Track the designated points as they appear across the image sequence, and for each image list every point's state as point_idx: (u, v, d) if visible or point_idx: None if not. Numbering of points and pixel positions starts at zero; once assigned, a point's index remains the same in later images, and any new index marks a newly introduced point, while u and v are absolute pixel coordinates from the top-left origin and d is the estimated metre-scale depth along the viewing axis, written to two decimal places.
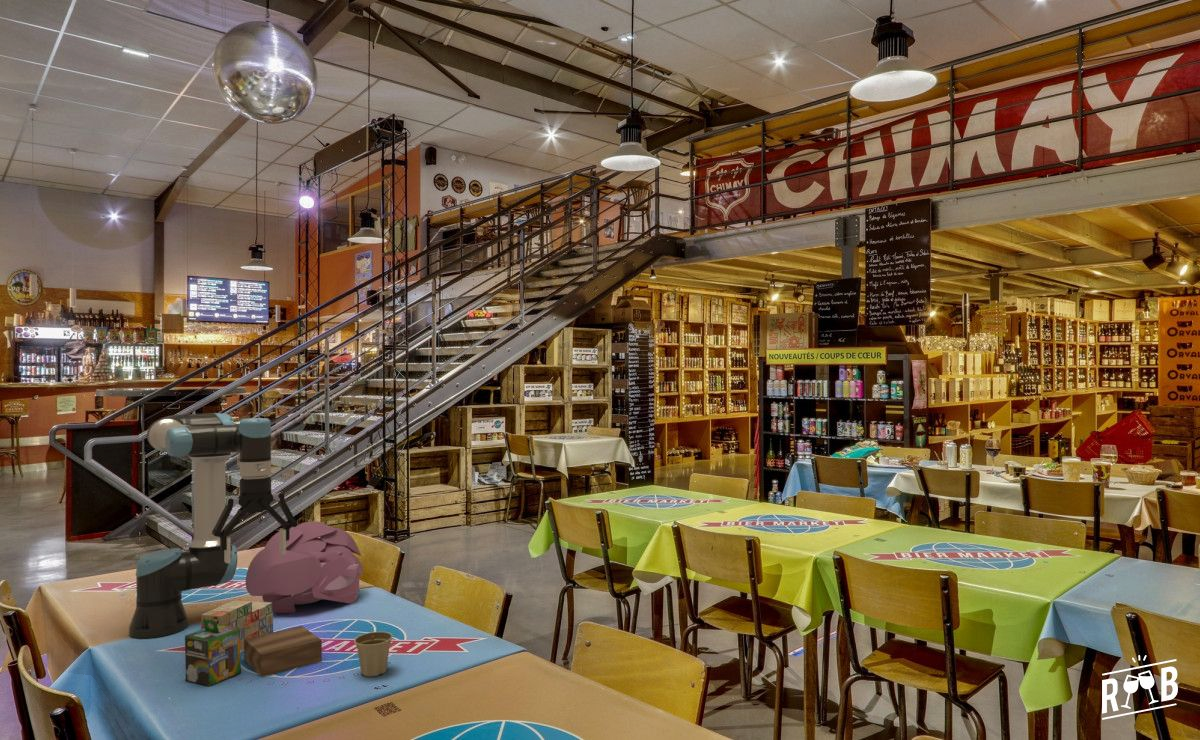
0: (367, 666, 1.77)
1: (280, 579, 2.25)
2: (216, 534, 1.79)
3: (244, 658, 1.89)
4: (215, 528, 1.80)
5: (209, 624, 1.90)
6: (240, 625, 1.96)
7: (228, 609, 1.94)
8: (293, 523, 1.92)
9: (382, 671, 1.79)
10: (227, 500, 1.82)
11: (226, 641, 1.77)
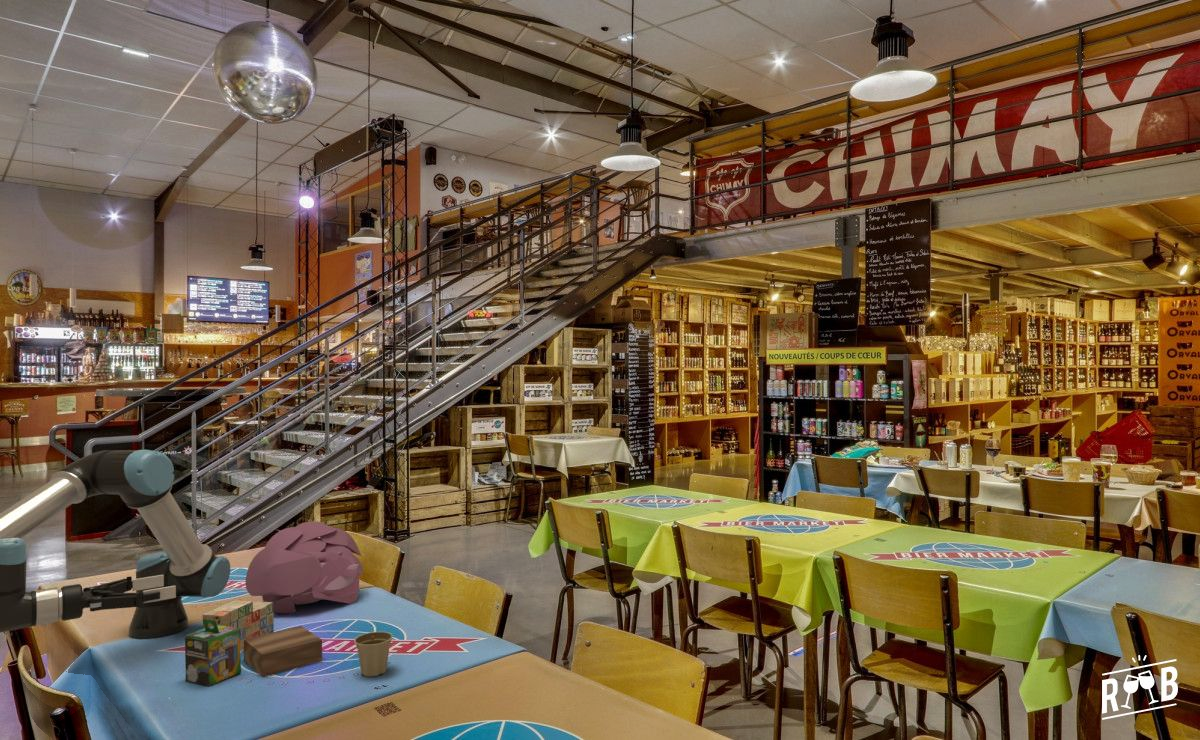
0: (367, 665, 1.77)
1: (280, 579, 2.25)
2: None
3: (244, 658, 1.89)
4: None
5: (210, 624, 1.90)
6: (241, 625, 1.97)
7: (229, 609, 1.94)
8: None
9: (382, 671, 1.79)
10: None
11: (226, 641, 1.77)
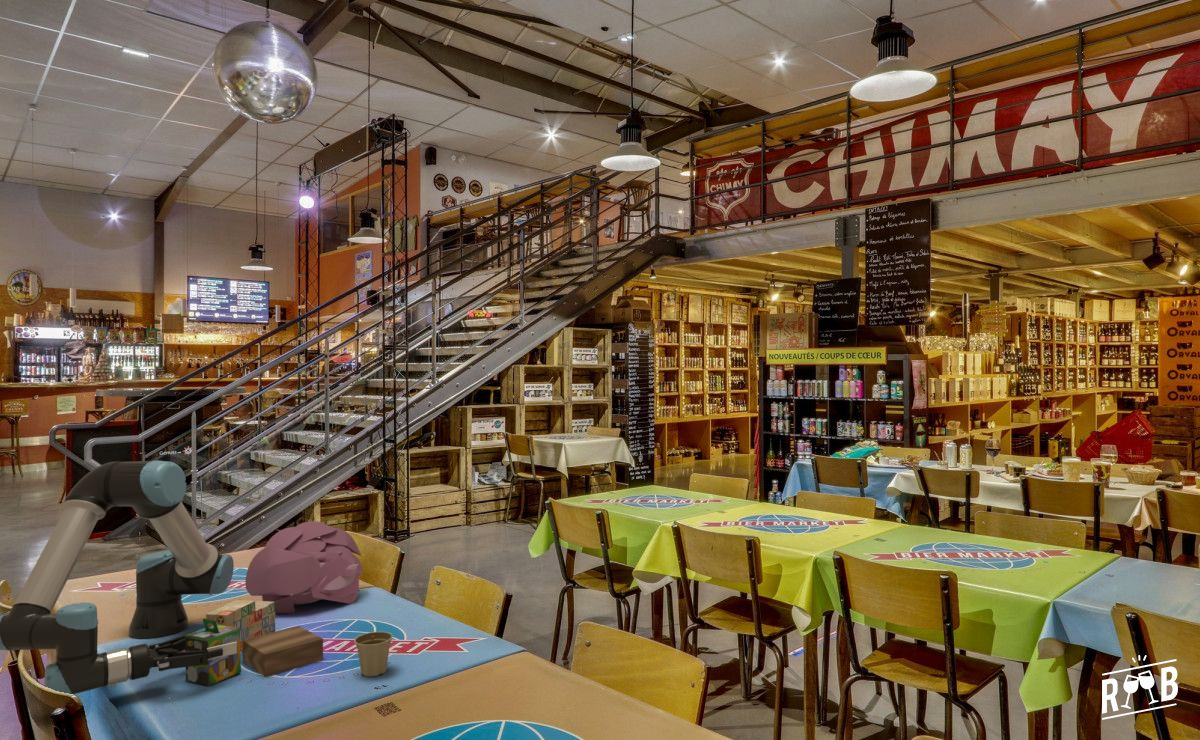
0: (367, 665, 1.77)
1: (279, 579, 2.25)
2: None
3: (242, 659, 1.88)
4: None
5: None
6: (244, 624, 1.97)
7: (232, 608, 1.95)
8: None
9: (382, 671, 1.79)
10: None
11: (226, 641, 1.77)
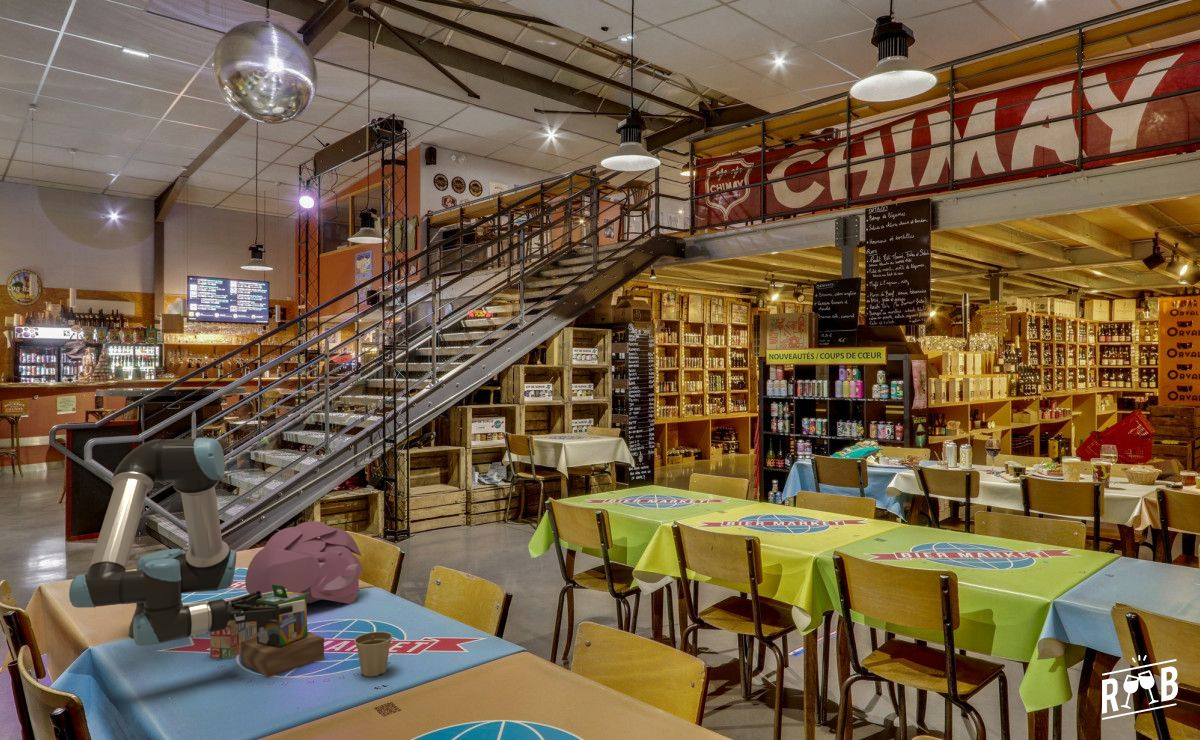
0: (367, 665, 1.77)
1: (279, 579, 2.25)
2: None
3: (241, 661, 1.88)
4: None
5: None
6: (248, 623, 1.98)
7: None
8: None
9: (382, 671, 1.79)
10: None
11: None
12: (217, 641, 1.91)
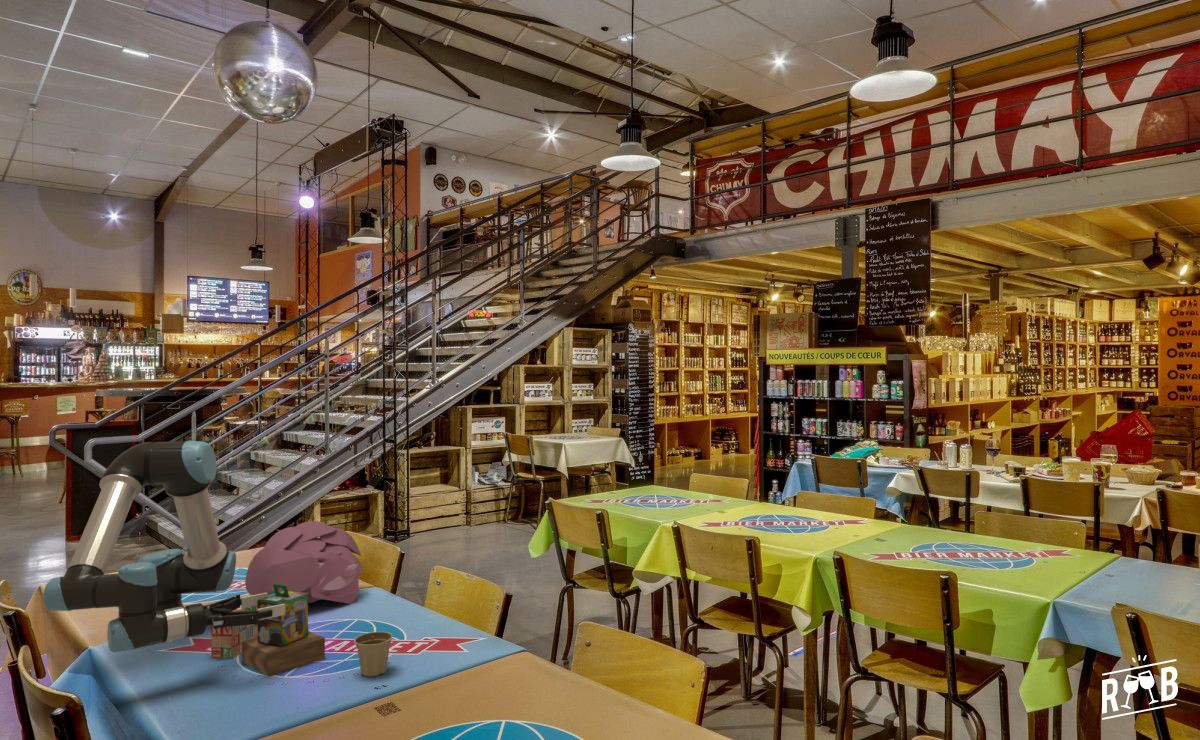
0: (367, 665, 1.77)
1: (279, 579, 2.25)
2: None
3: (242, 660, 1.88)
4: None
5: None
6: None
7: None
8: None
9: (382, 671, 1.79)
10: None
11: (296, 605, 1.88)
12: (218, 641, 1.91)
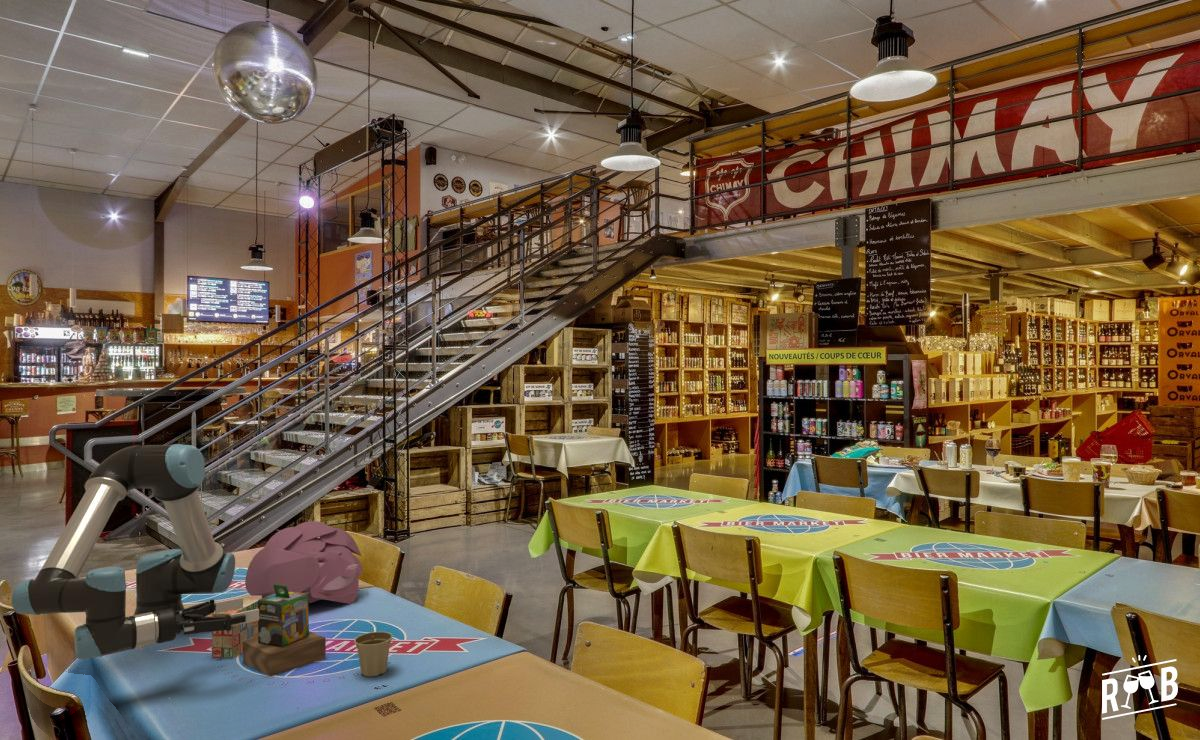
0: (367, 665, 1.77)
1: (279, 579, 2.25)
2: None
3: (243, 660, 1.88)
4: None
5: None
6: (249, 623, 1.98)
7: None
8: None
9: (382, 671, 1.79)
10: None
11: (296, 605, 1.88)
12: (219, 641, 1.91)
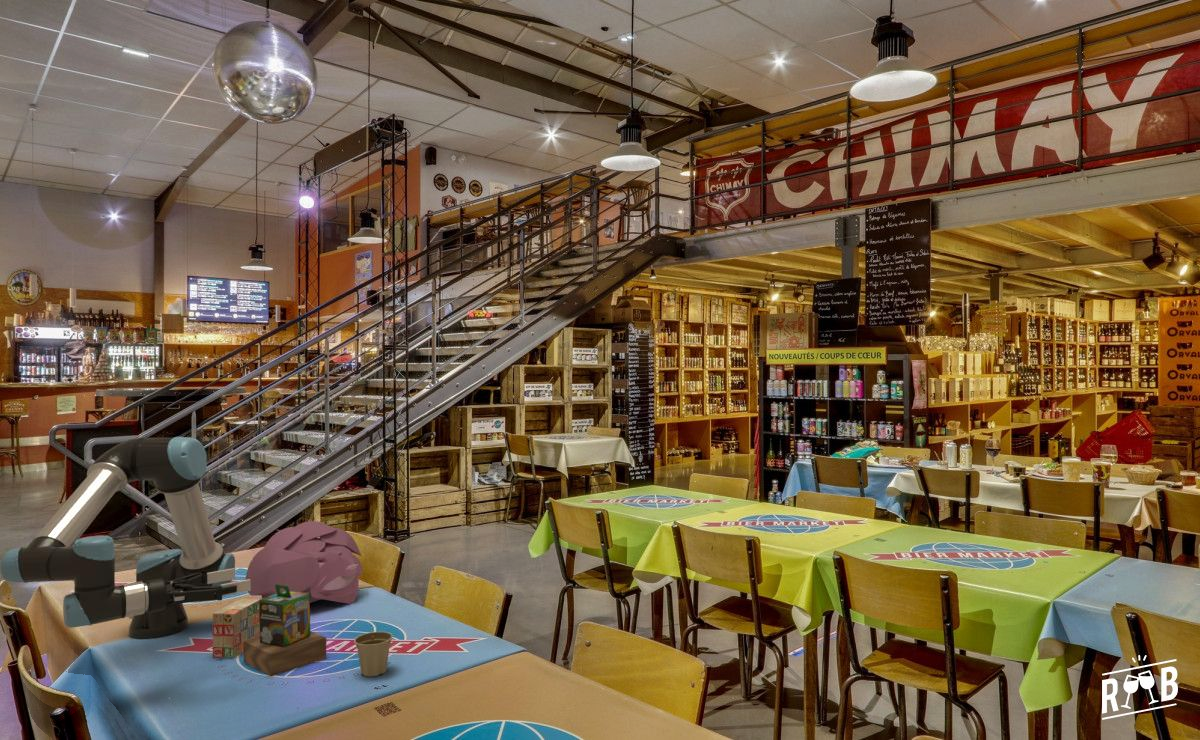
0: (367, 666, 1.77)
1: (278, 579, 2.25)
2: None
3: (244, 660, 1.88)
4: None
5: (221, 622, 1.91)
6: (250, 622, 1.98)
7: (239, 607, 1.96)
8: None
9: (382, 671, 1.79)
10: None
11: (298, 605, 1.88)
12: (220, 641, 1.91)
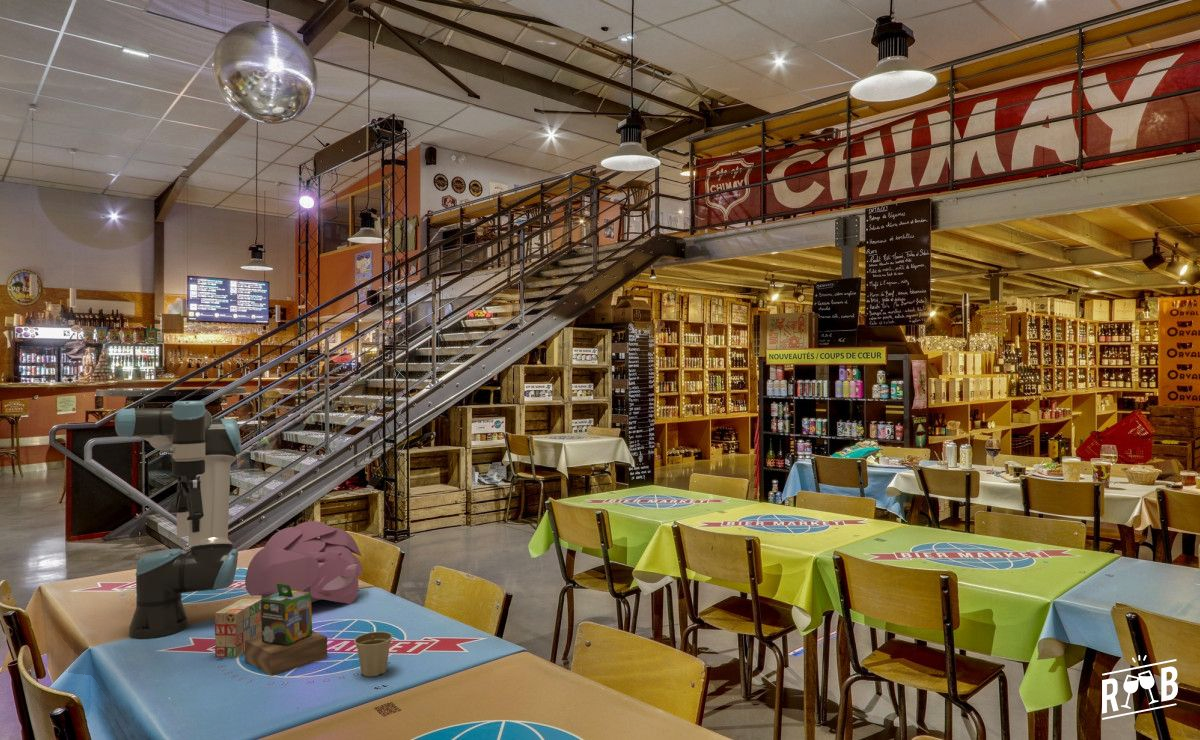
0: (367, 666, 1.77)
1: (278, 579, 2.25)
2: (175, 507, 1.93)
3: (245, 659, 1.89)
4: None
5: (224, 622, 1.92)
6: (252, 622, 1.99)
7: (241, 607, 1.96)
8: None
9: (382, 671, 1.79)
10: None
11: (299, 604, 1.88)
12: (222, 640, 1.92)
